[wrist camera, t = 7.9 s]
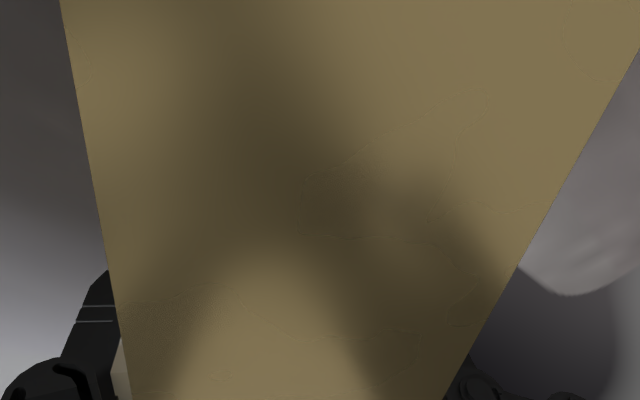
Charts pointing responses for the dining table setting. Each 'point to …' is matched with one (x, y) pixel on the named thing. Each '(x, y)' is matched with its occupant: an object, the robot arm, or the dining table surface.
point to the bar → (328, 178)
